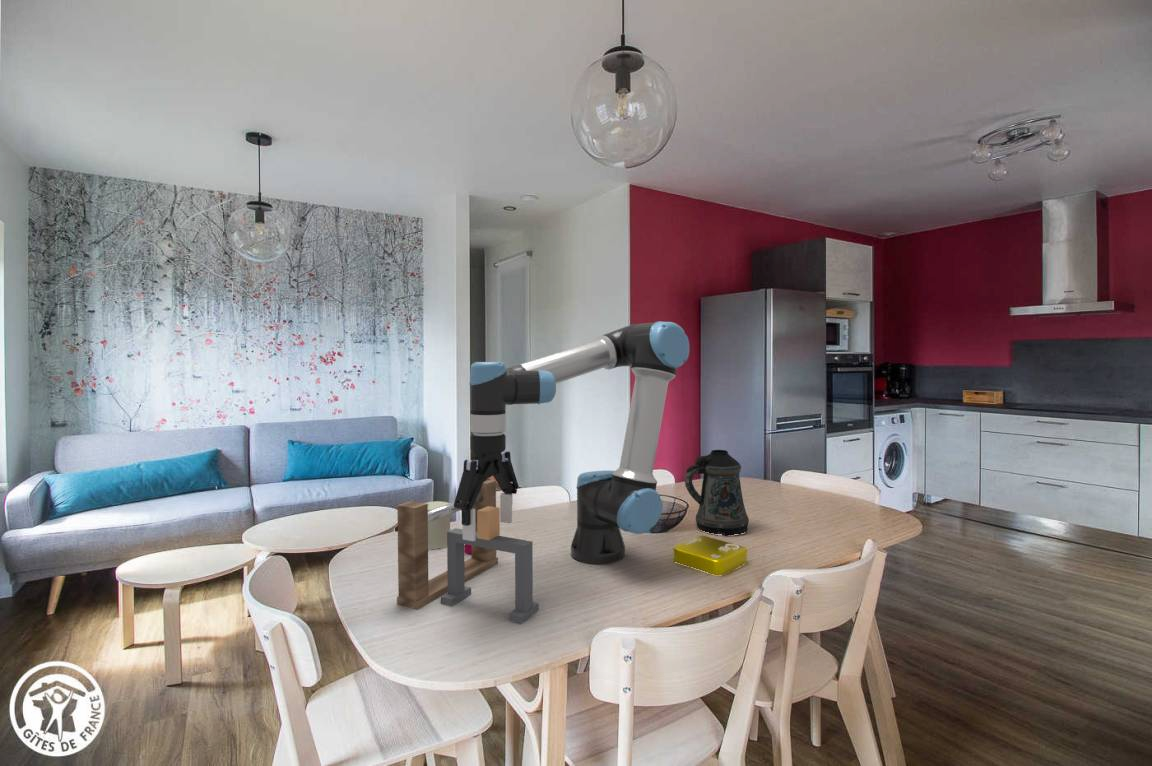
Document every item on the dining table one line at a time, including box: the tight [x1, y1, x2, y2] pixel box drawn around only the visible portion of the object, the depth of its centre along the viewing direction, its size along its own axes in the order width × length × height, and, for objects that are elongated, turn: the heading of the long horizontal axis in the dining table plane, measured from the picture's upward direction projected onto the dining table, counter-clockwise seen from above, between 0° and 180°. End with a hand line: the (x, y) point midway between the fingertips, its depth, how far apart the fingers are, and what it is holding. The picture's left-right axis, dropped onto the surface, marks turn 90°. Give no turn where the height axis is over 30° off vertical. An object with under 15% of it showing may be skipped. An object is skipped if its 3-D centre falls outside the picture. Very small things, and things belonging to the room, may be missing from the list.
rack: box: [396, 479, 499, 610], centre depth 132 cm, size 6×30×22 cm, turn 153°
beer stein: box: [684, 449, 750, 535], centre depth 173 cm, size 16×19×25 cm
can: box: [425, 500, 451, 550], centre depth 159 cm, size 9×9×12 cm
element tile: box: [672, 535, 748, 576], centre depth 145 cm, size 15×15×5 cm
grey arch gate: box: [440, 506, 540, 625], centre depth 118 cm, size 21×7×22 cm, turn 63°
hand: (488, 530), depth 118 cm, fingers open, 13 cm apart
